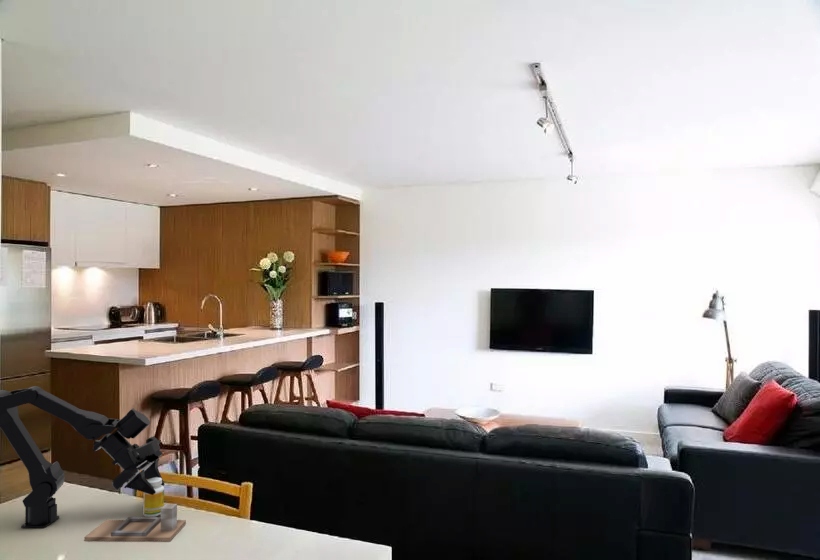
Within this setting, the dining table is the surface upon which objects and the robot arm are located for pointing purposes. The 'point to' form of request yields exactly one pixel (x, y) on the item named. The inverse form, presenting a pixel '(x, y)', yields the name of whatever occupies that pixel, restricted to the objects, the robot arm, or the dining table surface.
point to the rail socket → (140, 527)
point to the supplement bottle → (154, 498)
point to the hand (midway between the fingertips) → (158, 489)
